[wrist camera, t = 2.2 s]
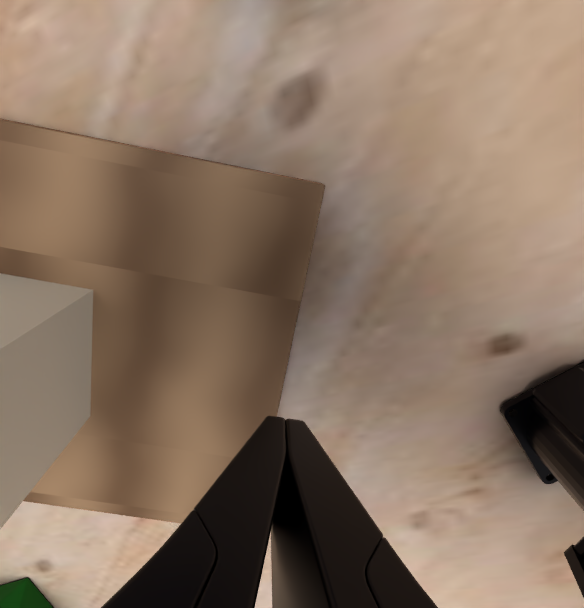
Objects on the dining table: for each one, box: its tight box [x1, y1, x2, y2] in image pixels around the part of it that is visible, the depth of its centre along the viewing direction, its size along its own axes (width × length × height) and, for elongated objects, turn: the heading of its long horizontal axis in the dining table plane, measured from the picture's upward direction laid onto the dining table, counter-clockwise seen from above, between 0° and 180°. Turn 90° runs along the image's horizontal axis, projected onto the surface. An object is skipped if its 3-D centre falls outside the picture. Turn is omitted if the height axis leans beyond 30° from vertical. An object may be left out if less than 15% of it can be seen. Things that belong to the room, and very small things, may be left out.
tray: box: [0, 119, 325, 523], centre depth 19 cm, size 27×20×4 cm
